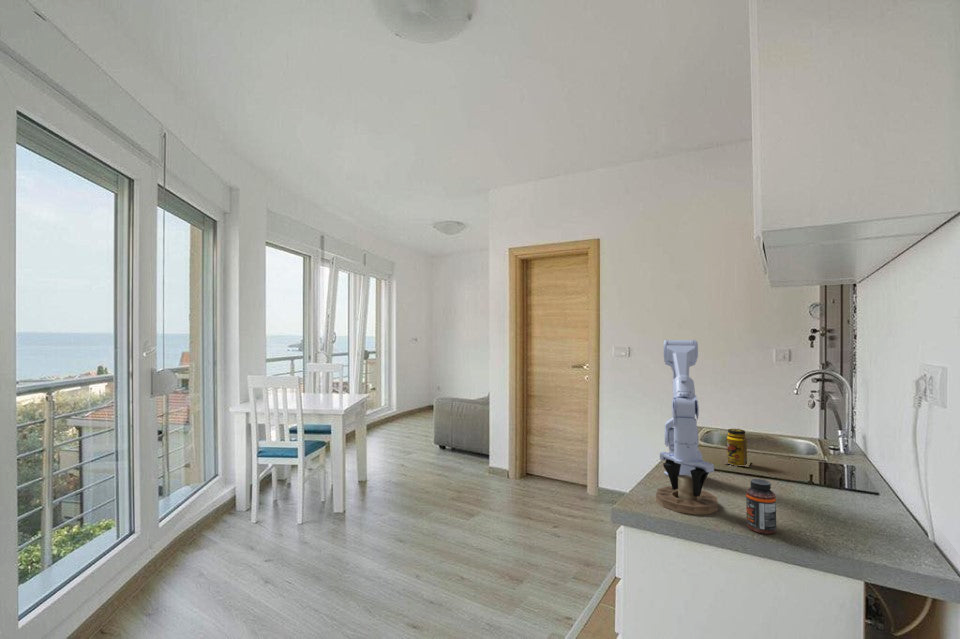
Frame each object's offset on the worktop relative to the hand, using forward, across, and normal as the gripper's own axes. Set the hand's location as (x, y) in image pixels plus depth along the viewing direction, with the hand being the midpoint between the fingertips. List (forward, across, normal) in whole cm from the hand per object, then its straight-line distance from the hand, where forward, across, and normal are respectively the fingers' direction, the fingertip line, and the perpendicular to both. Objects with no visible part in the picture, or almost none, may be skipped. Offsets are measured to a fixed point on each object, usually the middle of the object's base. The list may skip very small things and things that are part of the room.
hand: (686, 492), depth 122 cm
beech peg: (+3, 0, 0) cm, 3 cm away
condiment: (+3, -10, +48) cm, 50 cm away
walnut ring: (+3, 0, 0) cm, 3 cm away
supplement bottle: (+3, +19, -1) cm, 19 cm away
